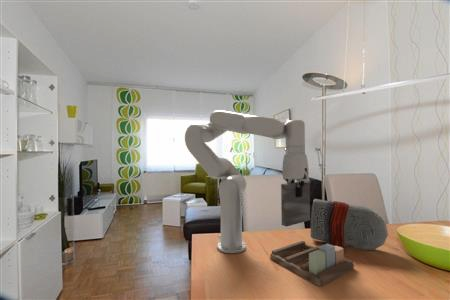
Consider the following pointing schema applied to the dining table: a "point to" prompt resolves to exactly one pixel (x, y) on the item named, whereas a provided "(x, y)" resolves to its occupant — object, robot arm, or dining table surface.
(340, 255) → the terracotta offcut board
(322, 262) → the sage offcut board
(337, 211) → the decorative stone tablet
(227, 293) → the dining table surface
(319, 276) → the walnut rack
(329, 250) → the slate offcut board
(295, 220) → the charcoal panel
